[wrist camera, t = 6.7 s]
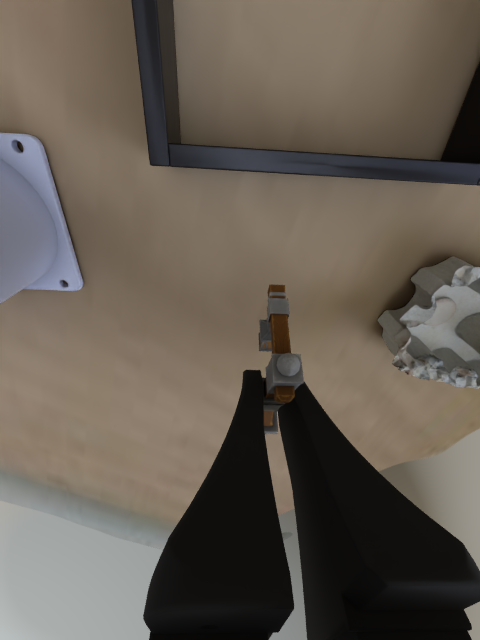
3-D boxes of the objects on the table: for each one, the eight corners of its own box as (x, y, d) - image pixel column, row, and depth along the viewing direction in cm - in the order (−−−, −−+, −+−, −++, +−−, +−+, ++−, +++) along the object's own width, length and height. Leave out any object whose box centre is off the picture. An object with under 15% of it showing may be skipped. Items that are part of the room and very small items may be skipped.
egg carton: (360, 330, 19) (387, 370, 16) (443, 235, 15) (501, 259, 12) (464, 375, 22) (507, 418, 18) (557, 302, 18) (633, 338, 15)
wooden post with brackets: (304, 269, 10) (326, 388, 7) (272, 359, 17) (278, 438, 14) (256, 267, 10) (261, 387, 7) (243, 359, 16) (244, 437, 14)
